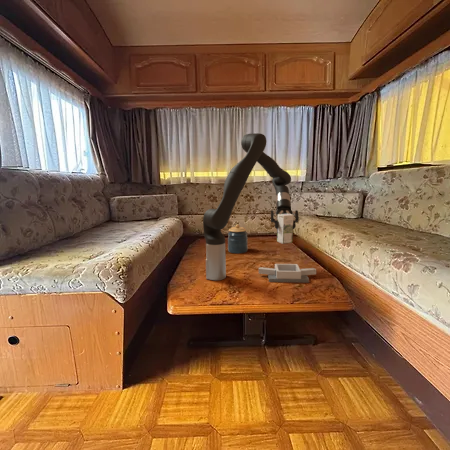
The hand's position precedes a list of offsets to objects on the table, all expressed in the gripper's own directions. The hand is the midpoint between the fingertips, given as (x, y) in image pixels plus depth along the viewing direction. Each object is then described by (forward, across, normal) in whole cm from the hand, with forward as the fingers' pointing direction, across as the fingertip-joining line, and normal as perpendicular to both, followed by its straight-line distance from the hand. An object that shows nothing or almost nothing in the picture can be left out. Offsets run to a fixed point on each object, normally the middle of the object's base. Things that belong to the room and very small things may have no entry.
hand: (285, 228), depth 140 cm
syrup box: (+4, 0, +6) cm, 8 cm away
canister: (-10, -26, +42) cm, 51 cm away
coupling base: (+23, 0, +9) cm, 24 cm away
